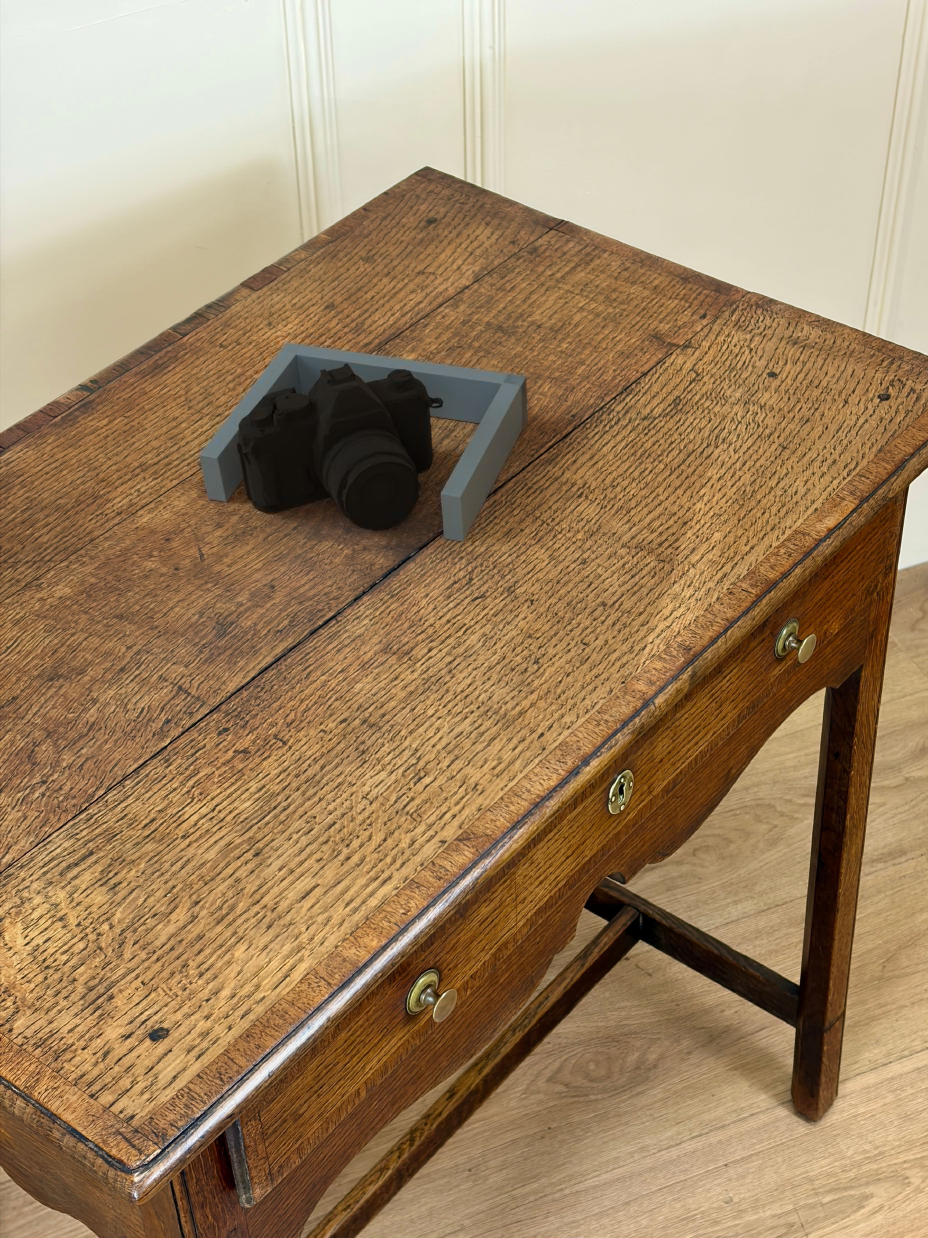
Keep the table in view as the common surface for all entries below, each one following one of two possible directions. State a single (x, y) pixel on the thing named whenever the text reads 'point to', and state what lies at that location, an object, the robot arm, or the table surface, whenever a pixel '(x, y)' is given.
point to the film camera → (340, 446)
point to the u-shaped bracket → (464, 399)
